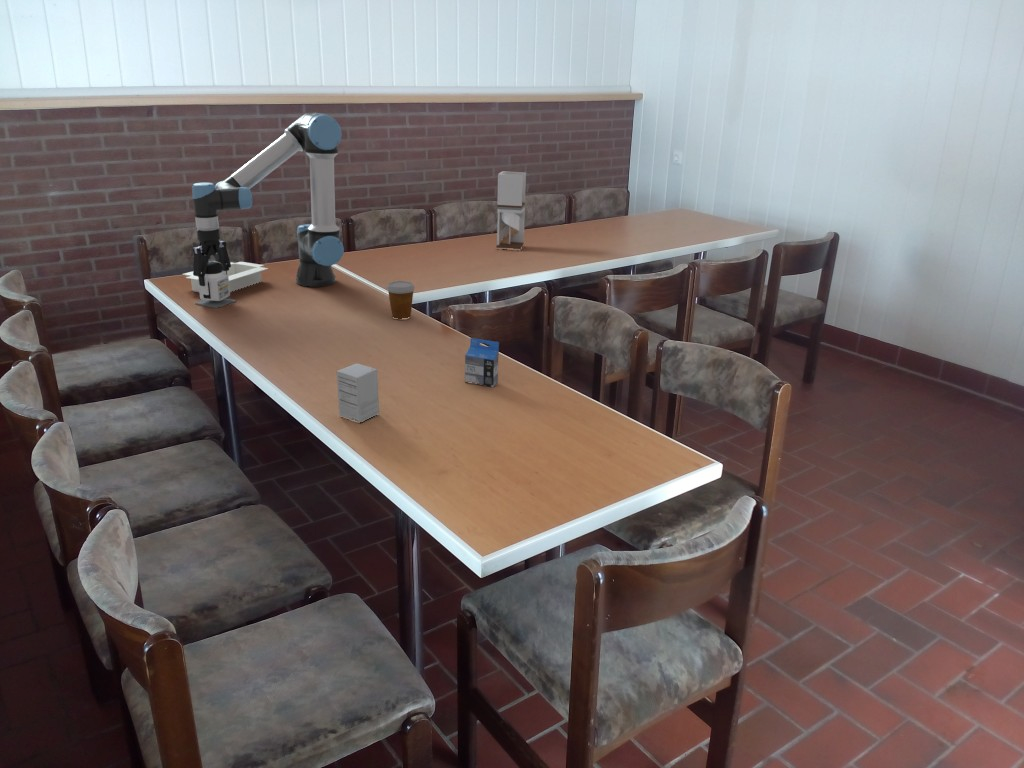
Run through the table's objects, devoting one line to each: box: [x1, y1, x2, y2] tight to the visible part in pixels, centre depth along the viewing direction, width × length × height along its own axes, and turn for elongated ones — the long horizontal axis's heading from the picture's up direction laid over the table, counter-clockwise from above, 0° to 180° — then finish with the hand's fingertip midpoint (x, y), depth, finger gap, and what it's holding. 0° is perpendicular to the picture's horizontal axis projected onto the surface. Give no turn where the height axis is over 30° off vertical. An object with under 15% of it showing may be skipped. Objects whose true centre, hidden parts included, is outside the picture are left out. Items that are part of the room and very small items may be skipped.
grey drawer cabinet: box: [336, 363, 380, 422], centre depth 205 cm, size 7×7×13 cm
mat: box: [194, 297, 237, 309], centre depth 296 cm, size 10×10×1 cm
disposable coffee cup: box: [386, 280, 415, 319], centre depth 283 cm, size 10×10×12 cm
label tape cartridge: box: [464, 337, 500, 388], centre depth 229 cm, size 9×4×12 cm, turn 69°
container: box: [198, 260, 231, 301], centre depth 293 cm, size 8×8×13 cm
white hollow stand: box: [496, 170, 527, 250], centre depth 386 cm, size 11×11×35 cm
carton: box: [182, 261, 269, 293], centre depth 315 cm, size 21×29×6 cm
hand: (214, 291), depth 294 cm, fingers closed on container, 9 cm apart
